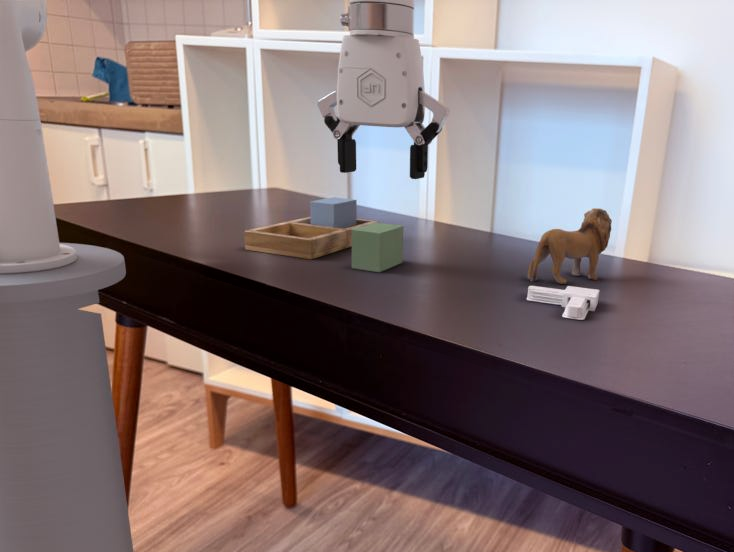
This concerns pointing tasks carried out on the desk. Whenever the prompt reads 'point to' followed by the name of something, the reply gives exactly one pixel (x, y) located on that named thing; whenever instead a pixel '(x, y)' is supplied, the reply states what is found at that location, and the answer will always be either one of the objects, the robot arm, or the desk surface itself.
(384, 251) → the pad
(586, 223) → the lion figurine
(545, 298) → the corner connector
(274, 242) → the tray
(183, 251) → the desk surface
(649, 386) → the desk surface
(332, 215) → the blue-grey block
